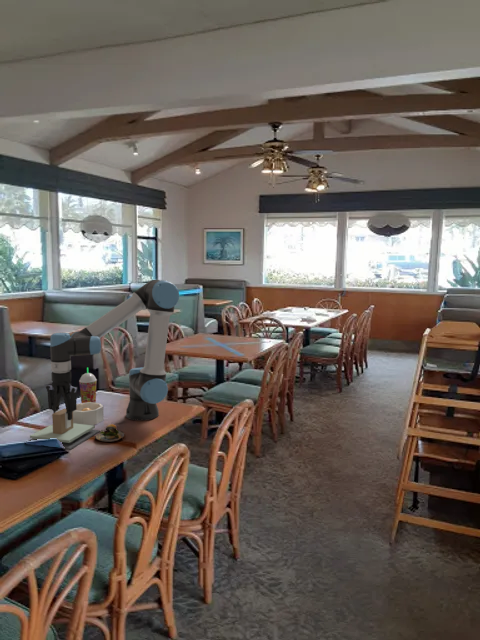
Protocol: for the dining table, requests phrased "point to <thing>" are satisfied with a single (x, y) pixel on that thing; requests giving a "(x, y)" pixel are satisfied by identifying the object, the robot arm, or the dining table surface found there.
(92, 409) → the bowl
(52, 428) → the lid
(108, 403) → the dining table surface
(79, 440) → the mat
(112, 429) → the burger
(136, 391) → the robot arm
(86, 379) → the smoothie
